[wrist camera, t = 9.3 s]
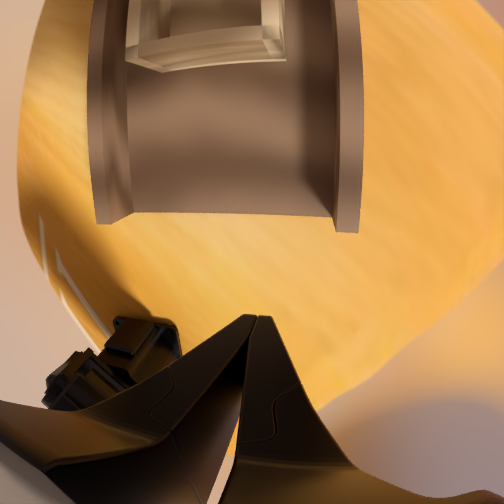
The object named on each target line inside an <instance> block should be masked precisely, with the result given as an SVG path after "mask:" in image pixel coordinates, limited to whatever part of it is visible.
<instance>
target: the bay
mask: <svg viewBox="0 0 504 504" xmlns="http://www.w3.org/2000/svg"><path fill="white" fill-rule="evenodd" d="M284 3H285V26H286V56H287V61H279V62H250V63H235V64H223V65H213V66H204V67H196V68H189V69H182V70H175V71H169V72H164V73H161V72H158V71H155V70H152V69H149V68H146V67H143V66H140V65H137V64H134V63H131V62H128V61H125V49H126V32H127V19H128V8H129V0H94V5H93V12H92V21H91V30H90V41H89V55H88V78H87V121H88V145H89V160H90V172H91V182H92V191H93V200H94V208H95V215H96V222H97V224H112V223H114V222H116V221H118V220H120V219H122V218H124V217H126V216H128V215H130V214H132V213H134V212H176V213H235V214H268V215H293V216H315V217H332V219H333V222H334V226H335V230H336V232H346V233H358V230H359V219H360V206H361V192H362V174H363V147H364V89H363V63H362V47H361V34H360V22H359V12H358V4H357V0H284Z"/></svg>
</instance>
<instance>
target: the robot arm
mask: <svg viewBox="0 0 504 504" xmlns="http://www.w3.org/2000/svg"><path fill="white" fill-rule="evenodd" d="M113 324H114V328H115V331H116V332H115V333H114V334H113V335H112V336H111V337H110V338H109V340H108V341H107V342H106V343H105V344H104V347H105V348H104V349H103V350H102V352H101V353H100V354H99V355H98V356H96V355H95V354H94V353H93V351H92V350H91V349H90V348H88V349H87V350H86V351H85V352H84V353H83V352H82V351H81V352H77V351H75V352H74V353H73V354H72V355H71V357H70V358H69V359H68V360H67V361H66V362H65V363H64V364H62V365H61V366H60V367H59V368H57V369H56V370H55V371H54V372H52V373H51V374H50V375H49V376H48V377H47V379H46V386H47V390H46V391H45V394H46V395H45V396H44V398H43V399H42V401H41V402H42V403H43V404H44V405H45V406H46V407H47V408H48V409H44V408H38V407H32V406H26V405H21V404H16V403H11V402H6V401H2V400H0V504H207V501H208V498H209V496H210V493H211V490H212V488H213V485H214V483H215V481H216V478H217V475H218V473H219V470H220V467H221V465H222V462H223V459H224V457H225V454H226V451H227V449H228V446H229V443H230V441H231V438H232V435H233V432H234V429H235V427H236V424H237V421H238V418H239V415H240V418H239V426H238V434H237V443H236V451H235V458H234V463H233V466H232V469H231V472H230V474H229V477H228V480H227V482H226V485H225V487H224V490H223V492H222V495H221V498H220V500H219V503H218V504H504V497H502V496H500V495H498V494H495V493H493V492H491V491H488V490H477V491H473V492H469V493H465V494H461V495H458V496H454V497H447V498H432V497H425V496H422V495H418V494H415V493H412V492H410V491H407V490H405V489H402V488H400V487H397V486H395V485H393V484H390V483H388V482H385V481H383V480H381V479H379V478H377V477H375V476H372V475H370V474H368V473H366V472H364V471H362V470H360V469H359V468H358V467H356V466H355V465H354V464H353V463H352V462H351V461H350V460H349V459H348V457H347V456H346V455H345V453H344V452H343V451H342V449H341V448H340V446H339V445H338V443H337V442H336V441H335V439H334V438H333V436H332V435H331V434H330V432H329V431H328V429H327V428H326V426H325V425H324V423H323V422H322V420H321V419H320V417H319V416H318V414H317V412H316V411H315V409H314V408H313V406H312V404H311V402H310V400H309V398H308V396H307V394H306V392H305V390H304V387H303V385H302V384H301V381H300V379H299V376H298V374H297V372H296V370H295V367H294V365H293V363H292V361H291V358H290V356H289V354H288V352H287V349H286V347H285V345H284V342H283V340H282V338H281V336H280V333H279V331H278V329H277V327H276V324H275V322H274V320H273V318H272V317H271V316H264V315H259V316H258V317H257V315H252V314H243V315H241V316H240V317H239V318H237V319H236V320H234V321H233V322H231V323H230V324H229V325H227V326H226V327H224V328H223V329H221V330H220V331H218V332H217V333H216V334H214V335H213V336H211V337H210V338H208V339H207V340H205V341H204V342H202V343H201V344H199V345H198V346H196V347H195V348H194V349H192V350H191V351H189V352H188V353H186V354H185V355H183V356H182V350H181V345H180V339H179V333H178V329H177V328H176V327H175V326H172V325H166V324H160V323H153V322H148V321H142V320H136V319H131V318H124V317H119V316H117V317H115V318H114V319H113ZM170 330H171V331H173V332H171V331H170Z"/></svg>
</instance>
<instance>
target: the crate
mask: <svg viewBox="0 0 504 504" xmlns="http://www.w3.org/2000/svg"><path fill="white" fill-rule="evenodd" d="M125 61H128V62H131V63H134V64H137V65H140V66H143V67H146V68H149V69H152V70H155V71H158V72H161V73H164V72H169V71H175V70H182V69H189V68H196V67H204V66H213V65H223V64H235V63H250V62H279V61H287V56H286V26H285V3H284V0H129V8H128V19H127V32H126V49H125Z"/></svg>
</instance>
